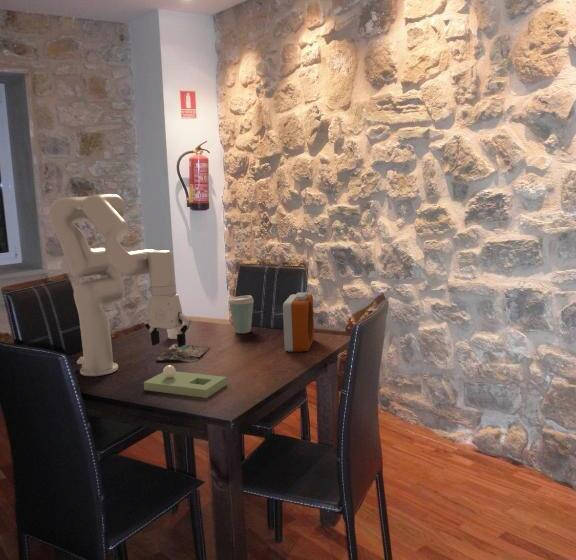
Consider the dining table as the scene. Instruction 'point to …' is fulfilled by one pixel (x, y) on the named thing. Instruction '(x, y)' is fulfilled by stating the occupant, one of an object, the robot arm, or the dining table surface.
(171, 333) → the white cup
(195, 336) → the dining table surface
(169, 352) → the terrain model
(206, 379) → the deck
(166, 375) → the ball
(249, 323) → the disposable coffee cup
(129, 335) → the dining table surface
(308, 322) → the orange and grey box
